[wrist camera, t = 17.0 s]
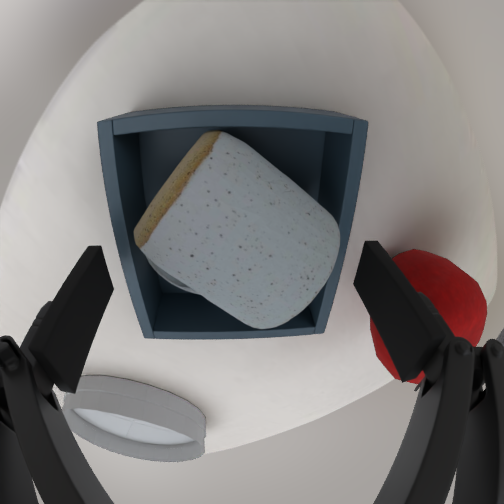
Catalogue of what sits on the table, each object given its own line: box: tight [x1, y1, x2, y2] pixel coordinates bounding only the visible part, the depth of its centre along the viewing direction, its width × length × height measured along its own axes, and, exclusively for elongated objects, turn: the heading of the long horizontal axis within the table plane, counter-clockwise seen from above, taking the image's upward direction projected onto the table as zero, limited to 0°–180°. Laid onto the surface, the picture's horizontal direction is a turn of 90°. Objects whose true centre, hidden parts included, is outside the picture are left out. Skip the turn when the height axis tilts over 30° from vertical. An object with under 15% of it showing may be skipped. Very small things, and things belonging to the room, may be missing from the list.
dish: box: [62, 375, 206, 462], centre depth 32 cm, size 22×22×5 cm
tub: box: [97, 105, 368, 339], centre depth 17 cm, size 13×14×5 cm
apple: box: [370, 249, 487, 384], centre depth 18 cm, size 10×10×11 cm
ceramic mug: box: [134, 130, 340, 329], centre depth 15 cm, size 11×8×8 cm
